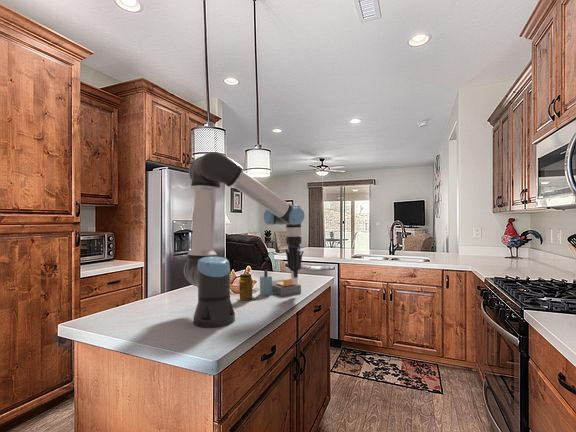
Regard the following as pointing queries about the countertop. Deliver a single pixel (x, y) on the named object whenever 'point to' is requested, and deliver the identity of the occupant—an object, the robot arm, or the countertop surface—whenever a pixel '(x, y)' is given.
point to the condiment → (246, 288)
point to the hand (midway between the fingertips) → (294, 283)
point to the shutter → (285, 282)
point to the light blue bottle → (265, 284)
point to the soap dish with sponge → (285, 289)
